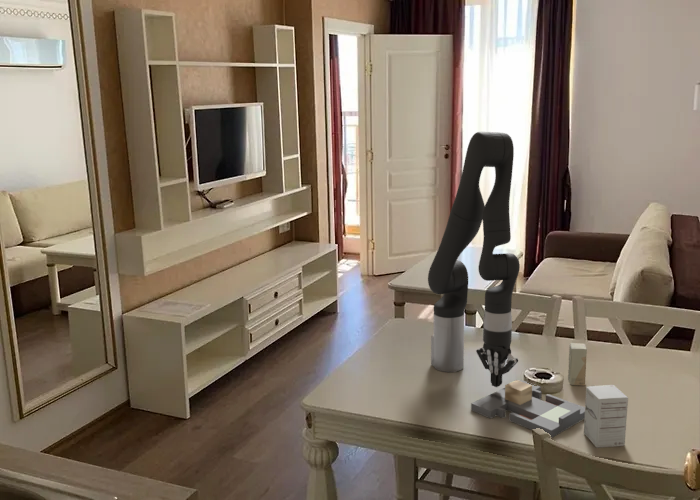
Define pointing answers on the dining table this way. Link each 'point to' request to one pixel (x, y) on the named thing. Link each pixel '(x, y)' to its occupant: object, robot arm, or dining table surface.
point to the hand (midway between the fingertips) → (496, 385)
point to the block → (518, 392)
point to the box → (577, 364)
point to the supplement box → (605, 415)
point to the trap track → (532, 411)
